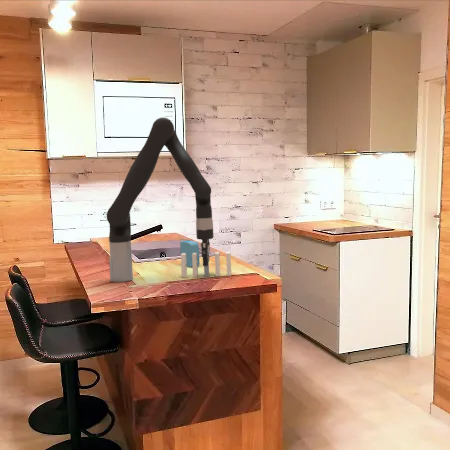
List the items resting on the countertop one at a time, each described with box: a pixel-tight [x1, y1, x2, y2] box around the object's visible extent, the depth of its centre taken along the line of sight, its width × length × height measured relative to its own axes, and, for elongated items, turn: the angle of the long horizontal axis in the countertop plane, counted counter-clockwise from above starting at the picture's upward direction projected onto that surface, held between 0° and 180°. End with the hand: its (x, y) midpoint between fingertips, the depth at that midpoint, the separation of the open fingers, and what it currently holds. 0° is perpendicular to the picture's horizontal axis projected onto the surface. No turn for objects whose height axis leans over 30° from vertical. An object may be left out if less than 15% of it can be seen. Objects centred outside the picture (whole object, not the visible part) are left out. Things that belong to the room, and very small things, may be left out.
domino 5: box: [225, 251, 232, 277], centre depth 224 cm, size 2×5×10 cm, turn 178°
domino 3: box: [203, 253, 210, 278], centre depth 225 cm, size 2×5×10 cm, turn 178°
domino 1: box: [180, 253, 188, 278], centre depth 225 cm, size 2×5×10 cm, turn 178°
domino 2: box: [192, 253, 199, 278], centre depth 225 cm, size 2×5×10 cm, turn 178°
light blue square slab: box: [179, 240, 201, 268], centre depth 251 cm, size 12×4×12 cm, turn 30°
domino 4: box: [214, 251, 221, 277], centre depth 224 cm, size 2×5×10 cm, turn 178°
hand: (206, 264), depth 225 cm, fingers open, 8 cm apart
